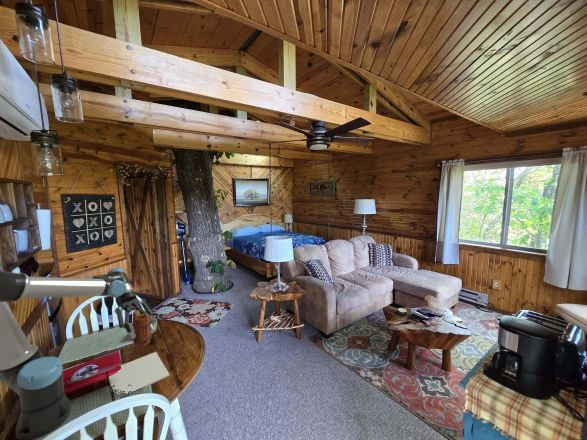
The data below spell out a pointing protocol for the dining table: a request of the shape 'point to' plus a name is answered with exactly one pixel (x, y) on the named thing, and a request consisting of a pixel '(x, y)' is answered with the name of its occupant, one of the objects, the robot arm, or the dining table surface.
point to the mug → (141, 329)
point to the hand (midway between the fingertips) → (143, 333)
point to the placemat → (139, 373)
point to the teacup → (154, 324)
